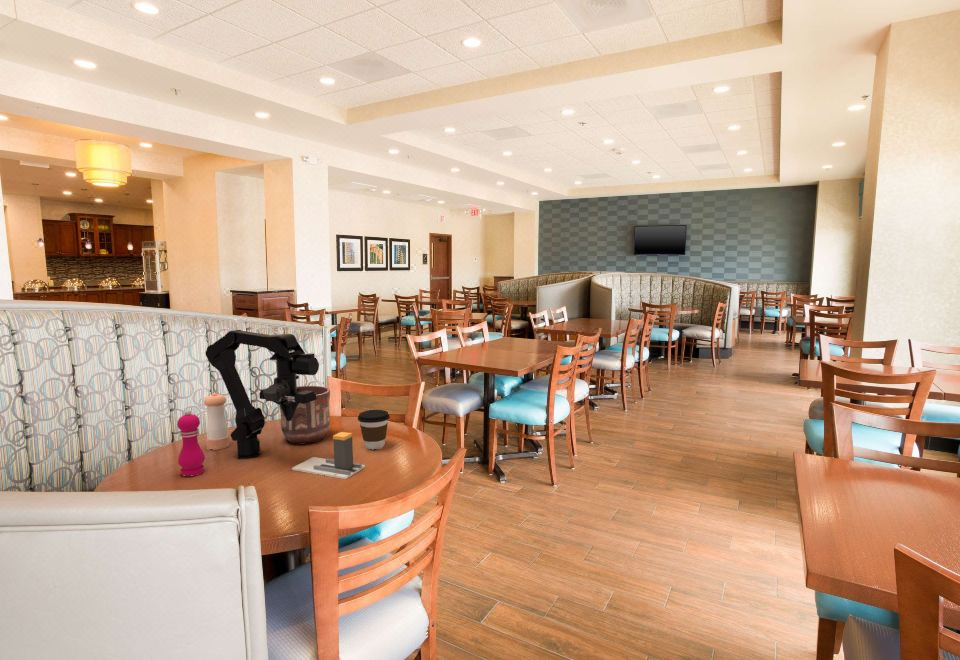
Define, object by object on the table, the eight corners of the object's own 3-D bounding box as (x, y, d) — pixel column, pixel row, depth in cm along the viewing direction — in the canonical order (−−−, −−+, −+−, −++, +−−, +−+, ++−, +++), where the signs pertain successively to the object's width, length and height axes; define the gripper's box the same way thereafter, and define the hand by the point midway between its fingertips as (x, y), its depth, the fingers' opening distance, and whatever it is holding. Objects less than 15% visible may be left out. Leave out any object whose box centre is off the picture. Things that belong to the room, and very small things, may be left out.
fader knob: (334, 470, 161) (333, 435, 159) (342, 465, 164) (341, 431, 163) (345, 472, 159) (344, 437, 158) (353, 467, 163) (352, 433, 162)
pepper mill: (178, 479, 157) (173, 414, 154) (179, 471, 163) (174, 408, 160) (205, 474, 160) (201, 411, 157) (205, 466, 166) (201, 405, 164)
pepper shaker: (223, 449, 181) (219, 395, 179) (202, 449, 181) (198, 395, 179) (233, 442, 188) (230, 390, 186) (213, 442, 189) (209, 390, 186)
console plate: (292, 469, 163) (291, 464, 163) (313, 458, 172) (313, 454, 172) (345, 479, 156) (345, 474, 156) (364, 467, 165) (364, 462, 165)
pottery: (286, 450, 180) (284, 399, 178) (275, 436, 195) (273, 389, 192) (337, 441, 190) (336, 392, 187) (323, 428, 204) (321, 383, 202)
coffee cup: (356, 444, 186) (354, 411, 184) (386, 440, 190) (385, 407, 189) (361, 454, 176) (360, 419, 174) (394, 449, 180) (393, 415, 179)
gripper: (244, 376, 164) (247, 425, 166) (291, 381, 157) (294, 431, 159) (270, 369, 175) (273, 415, 177) (316, 373, 168) (318, 421, 170)
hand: (289, 420), depth 170 cm, fingers closed
